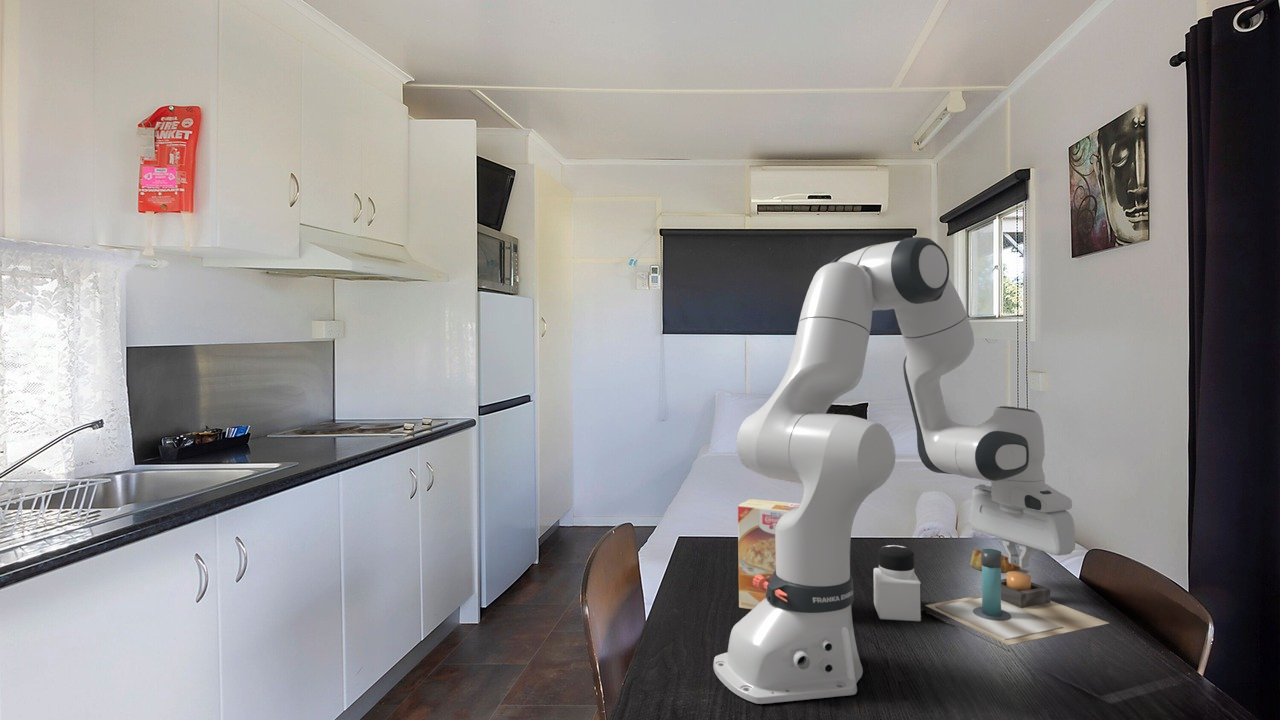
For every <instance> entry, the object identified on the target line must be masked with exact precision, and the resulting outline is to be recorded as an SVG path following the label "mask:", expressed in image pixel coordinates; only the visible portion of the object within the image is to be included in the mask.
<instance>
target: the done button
mask: <svg viewBox="0 0 1280 720" xmlns="http://www.w3.org/2000/svg"><path fill="white" fill-rule="evenodd" d="M1006 579H1007V586H1008V587H1010V588H1013V589H1015V590H1018V591H1025V590H1031V582H1032V575H1030V574H1029V573H1026V572H1023V571H1019V572H1017V571H1010V572H1007V574H1006Z"/></svg>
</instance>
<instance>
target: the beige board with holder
mask: <svg viewBox="0 0 1280 720" xmlns="http://www.w3.org/2000/svg"><path fill="white" fill-rule="evenodd" d="M924 607H927V608H930V609H931V610H933V611H935V612H937V613H940V614H942V615H944V616H945V617H948V618H950V619H953V620H955V621H956V622H959V623H961V624H963V625H964V626H967V627H969V628H971V629H972V630H975V631H977V632H980V633H981V634H983V635H985V636H988V637H990V638H992V639H994V640H996V641H998V642H1000V643H1002V644H1004V645H1006V646H1012V645H1016V644H1017V645H1018V644H1021V643H1025V642H1030V641H1034V640H1038V639H1039V640H1040V639H1043V638H1048V637H1049V638H1050V637H1052V636H1058V635H1062V634H1068V633H1072V632H1076V631H1082V630H1086V629H1090V628H1095V627H1100V626H1104V625H1108V624H1110V622H1108V621H1105V620H1104V619H1103V620H1102V619H1100V618H1097V617H1095V616H1093V615H1089V614H1088V613H1084V612H1081V611H1080V610H1076V609H1074V608H1071V607H1069V606H1066V605H1063V604H1060V603H1058V602H1055V601H1052V600H1051V588H1049V587H1046V586H1042V585H1041V584H1037V583H1034V582H1032V581H1031V590H1025V591H1018V590H1015V589H1013V588H1010V587H1008V586H1007V578H1003V579H1002V578H1001V616H998V617H993V616H988V615H985V614H983V613H982V594H979V595H975V596H969V597H963V598H958V599H956V598H955V599H953V600H952V599H951V600H946V601H941V602H940V601H939V602H936V603H929V604H925V605H924ZM924 611H925V612H927V613H929V614H931V615H933V616H935V617H937V618H939V619H941V620H943V621H945V622H947V621H948V620H947V619H944V618H943V617H941V616H938V615H936V614H934V613H933V612H930V611H928V610H926V609H924ZM947 623H949V624H951V625H952V626H956V627H957V628H960V629H961V630H964V631H966V632H968V633H970V634H972V635H974V636H976V637H978V638H980V639H981V640H984V641H986V642H988V643H990V644H992V645H994V646H996V647H998V648H999V649H1000V648H1001V649H1002V650H1005V651H1007V652H1009V649H1005V648H1004V647H1002V646H1000V645H998V644H995V643H994V642H992V641H990V640H988V639H986V638H983V637H981V636H980V635H977V634H975V633H973V632H971V631H969V630H968V629H965V628H963V627H961V626H958V625H956V624H955V623H952V622H950V621H948V622H947Z"/></svg>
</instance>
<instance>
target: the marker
mask: <svg viewBox="0 0 1280 720" xmlns="http://www.w3.org/2000/svg"><path fill="white" fill-rule="evenodd" d="M980 551H981V564H982V570H981V595H982V613H983V614H985V615H988V616H993V617H998V616H1001V580H1002V573H1001V567H1002V555H1003V554H1002V551H1001V550H998V549H994V548H982V549H980Z"/></svg>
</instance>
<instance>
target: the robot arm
mask: <svg viewBox="0 0 1280 720" xmlns="http://www.w3.org/2000/svg"><path fill="white" fill-rule="evenodd" d="M956 289H957V288H956V287H955V286H954V284H953V282H952V281H951V278H950V264H949V260H948V257H947V255H946V253H945V251H944V249H943V248H942V247H941V246H940V245H939V244H937V243H936V242H935V241H934V240H932V239H931V238H928V237H922V236H921V237H920V236H919V237H918V236H915V237H906V238H903V239H902V240H897V241H890V242H884V243H880V244H872V245H869V246H865V247H862V248H860V249H859V248H858V249H857V250H855V251H852V252H850V253H848V252H847V253H843V254H841V255H839V256H837V257H836V258H834V259H833V260H831V261H830V262H829V263H827V264H824V265H823V266H822V267H820V268H819V269H818V270H817V271H816V272H815V273H814V275H813V278H812V280H811V282H810V284H809V287H808V289H807V292H806V295H805V298H804V301H803V304H802V308H801V311H800V316H799V320H798V324H797V325H798V326H797V329H796V334H795V340H794V342H793V347H792V352H791V355H790V359H789V361H788V362H789V363H788V366H787V368H786V370H785V373H784V375H783V377H782V379H781V380H780V382H779V385H778V386H777V388H776V389H775V390H774V392H773V393H772V395H771V396H770V397H769V398H768V400H767V401H766V402H764V404H763V405H762V406H761V407H760V408H758V409H757V410H756V411H754V412H753V413H752V414H750V415H748V416H747V417H746V418H745V419H744V420H743V422H742V423H741V424H740V426H739V429H738V430H737V431H738V432H737V436H736V443H735V444H736V445H735V446H736V450H737V456H738V458H739V460H740V462H741V463H742V465H744V467H745V468H747V469H748V470H751V471H752V472H754V473H757V474H759V475H762V476H764V477H766V478H769V479H773V480H779V481H785V482H790V483H797V484H801V485H803V493H802V499H801V502H800V503H799V504H800V506H798V507H795V508H793V509H791V510H789V511H788V512H786V513H785V514H784V515H783V516H782V517H781V518H780V519H779V520H778V522H777V524H776V528H775V552H776V570H775V571H774V573H773V575H772V577H771V580H770V582H769V580H768V579H767V578H764V577H763V576H762V575H756V576H755V578H753V580H754V581H753V583H754V584H753V585H754V586H755V587H756V588H759V589H760V590H761V591H765V590H767V592H766V597H765V598H764V599H763V600H762V601H761V602H760V603H759V604H758V605H757V606H756V607H755V608H754V609H750V611H749V612H748V613H747V614H745V616H743V617H742V618H741V619H740V620H739V621H737V623H735V624H734V625H733V627H732V628H731V630H730V631H731V632H730V635H729V640H728V647H727V652H724V653H720V654H718V655H715V657H714V659H713V663H712V664H713V665H712V667H713V671H714V673H715V675H716V677H717V678H718V679H719V681H720V682H721V683H722V684H723V685H724V686H725V687H726V688H727V689H728V690H730V691H731V692H732V693H733V694H735V695H736V696H738V697H740V698H741V699H744V700H746V701H748V702H751V703H754V704H757V705H759V704H760V705H763V704H774V703H784V702H785V703H786V702H794V701H804V700H805V701H806V700H811V699H812V700H814V699H824V698H825V699H826V698H834V697H845V696H854V695H856V694H857V692H858V686H857V683H858V681H859V680H860V679H861V678H862V676H863V673H864V670H863V666H862V663H861V660H860V656H859V653H858V648H857V643H856V637H855V632H854V626H853V625H854V624H853V623H854V622H853V612H852V606H853V603H854V601H855V600H854V599H855V598H854V578H853V576H852V575H851V541H852V540H851V538H852V529H853V524H854V520H855V518H856V515H857V512H858V510H859V509H860V507H861V505H862V504H863V502H864V501H865V500H866V498H867V497H869V495H870V494H872V493H873V492H875V491H876V490H877V489H879V488H881V487H882V486H883V485H884V484H885V483H886V482H887V481H888V480H889V478H890V476H891V475H892V473H893V471H894V469H895V464H896V454H897V453H896V447H895V443H894V441H893V438H892V436H891V435H890V432H889V431H888V430H887V428H886V427H885V426H884V425H882V424H881V423H878V422H875V421H873V420H868V419H866V418H862V417H859V416H854V415H850V414H839V413H837V414H835V413H827V412H828V410H829V408H830V407H831V406H832V404H833V403H834V402H835V401H836V400H837V399H839V398H840V397H841V396H843V395H845V394H847V393H849V392H850V391H851V392H852V390H854V389H855V388H856V387H857V386H858V385H859V383H860V382H861V379H862V377H863V373H864V367H865V363H866V356H867V351H868V345H869V340H870V334H871V328H872V319H873V311H887V310H888V311H889V310H894V313H895V317H896V320H897V324H898V328H899V330H900V332H901V336H902V338H903V341H904V344H905V350H906V356H905V357H904V359H903V366H902V367H903V377H904V383H905V387H906V390H907V395H908V399H909V403H910V407H911V411H912V416H913V418H914V419H913V420H914V424H915V429H916V441H917V442H916V444H917V447H916V448H917V453H918V456H919V458H920V460H921V462H922V464H923V465H924V466H925V467H926V468H927V469H928V470H930V471H932V472H933V473H937V474H947V475H955V476H956V475H957V476H960V477H966V478H970V479H977V480H983V481H986V482H987V481H988V482H991V485H989V486H988V485H986V484H982V483H981V484H980V483H979V484H978V485H976V486H974V488H973V489H972V491H971V492H972V497H971V500H970V501H971V502H970V506H969V507H970V508H969V520H968V522H969V525H970V526H969V527H971V529H972V530H974V531H977V532H979V533H983V534H985V535H989V536H993V537H995V538H999V539H1002V545H1003V547H1004V549H1005V551H1006V553H1007V555H1008V558H1009V563H1010V564H1013V565H1016V566H1019V567H1020V569H1021V568H1022V569H1026V568H1028V567H1029V565H1030V558H1031V556H1032V555H1033V553H1034V551H1035V550H1038V551H1040V552H1044V553H1048V554H1050V555H1054V556H1058V557H1059V556H1066V555H1070V554H1072V553H1073V551H1074V550H1075V548H1076V530H1075V521H1074V518H1073V516H1072V514H1071V513H1070V512H1069V511H1068V510H1071V509H1072V507H1073V500H1072V499H1071V498H1070V497H1069V496H1067V495H1065V494H1063V493H1062V492H1059V491H1058V490H1056V489H1054V488H1053V487H1052V486H1050V485H1049V484H1046V476H1045V473H1044V469H1043V464H1044V463H1043V461H1044V459H1045V454H1046V453H1045V451H1046V450H1045V449H1046V448H1045V434H1044V427H1043V422H1042V419H1041V415H1040V414H1039V413H1038V412H1036V411H1035V410H1033V409H1029V408H1025V407H1016V406H1007V405H1006V406H1005V405H1003V406H998V407H997V406H996V407H995V408H994V410H993V414H992V415H991V416H990V417H989V419H987V420H986V421H984V422H982V423H980V424H978V426H977V425H976V426H975V425H969V424H968V425H967V424H960V423H957V422H955V421H954V420H952V419H951V418H950V417H949V415H948V414H947V410H946V406H945V401H944V397H943V393H942V387H941V378H942V376H944V375H946V374H949V373H950V372H952V371H953V370H955V369H956V368H959V367H960V366H961V365H962V364H963V363H965V362H966V360H967V359H968V358H969V356H970V355H971V353H972V350H973V348H974V346H975V338H974V337H975V336H974V332H973V327H972V324H971V322H970V319H969V317H968V313H967V312H966V308H965V307H964V303H963V301H962V299H961V297H960V295H959V294H958V291H957V290H956ZM1016 545H1019V550H1021V552H1020V554H1019V552H1018V550H1017V547H1016Z"/></svg>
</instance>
